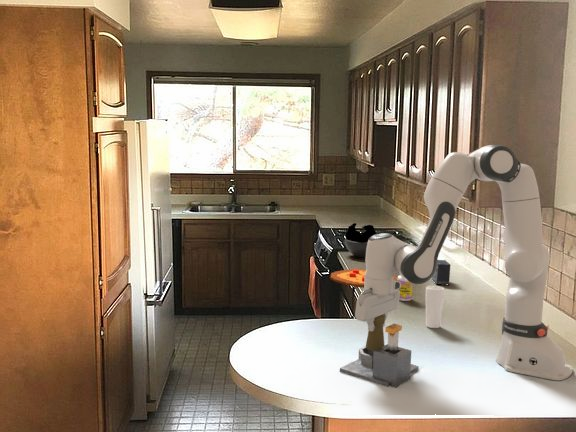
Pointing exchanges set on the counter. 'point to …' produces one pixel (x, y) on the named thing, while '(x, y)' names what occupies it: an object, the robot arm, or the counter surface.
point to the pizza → (351, 277)
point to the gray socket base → (382, 366)
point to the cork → (376, 334)
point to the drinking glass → (434, 305)
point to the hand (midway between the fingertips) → (376, 328)
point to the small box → (442, 272)
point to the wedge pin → (393, 337)
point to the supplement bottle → (405, 288)
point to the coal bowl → (358, 239)
